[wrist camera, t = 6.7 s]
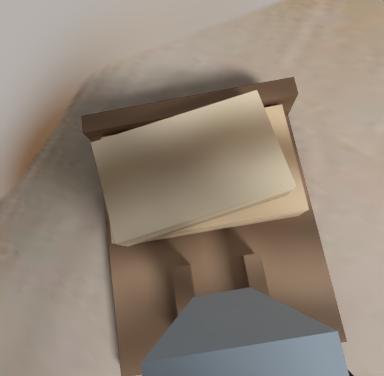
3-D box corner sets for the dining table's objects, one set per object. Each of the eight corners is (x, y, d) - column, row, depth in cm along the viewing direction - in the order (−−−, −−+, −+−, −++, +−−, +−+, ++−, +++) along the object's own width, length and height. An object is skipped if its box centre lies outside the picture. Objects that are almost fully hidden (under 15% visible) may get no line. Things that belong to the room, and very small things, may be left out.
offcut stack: (299, 221, 21) (324, 207, 17) (123, 251, 22) (97, 247, 17) (274, 121, 23) (291, 83, 18) (112, 150, 24) (86, 120, 19)
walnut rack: (340, 338, 21) (369, 354, 17) (125, 372, 21) (105, 396, 17) (281, 106, 25) (293, 77, 21) (102, 139, 25) (81, 115, 21)
